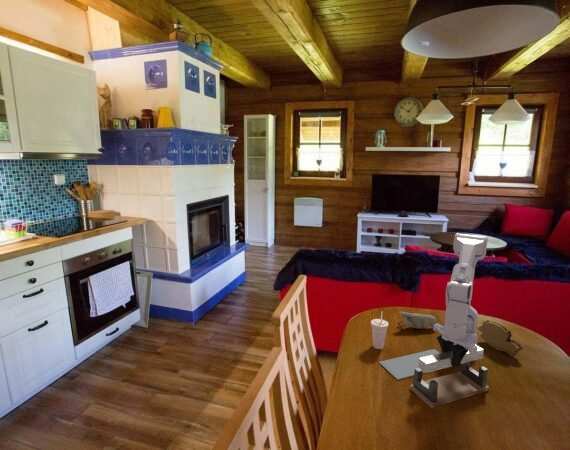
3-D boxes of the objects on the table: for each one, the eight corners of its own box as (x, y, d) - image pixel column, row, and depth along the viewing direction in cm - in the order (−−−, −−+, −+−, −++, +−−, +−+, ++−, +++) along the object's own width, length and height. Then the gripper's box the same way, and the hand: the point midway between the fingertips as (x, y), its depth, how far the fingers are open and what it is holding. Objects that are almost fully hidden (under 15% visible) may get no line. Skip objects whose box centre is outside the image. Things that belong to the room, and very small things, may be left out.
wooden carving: (523, 358, 122) (527, 332, 120) (515, 361, 120) (519, 335, 118) (480, 336, 137) (483, 313, 135) (472, 339, 135) (475, 315, 133)
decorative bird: (439, 332, 141) (440, 314, 139) (399, 331, 141) (400, 314, 139) (433, 325, 146) (435, 309, 145) (395, 325, 146) (396, 309, 144)
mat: (434, 350, 127) (434, 349, 127) (455, 365, 118) (455, 364, 118) (378, 362, 119) (378, 361, 119) (397, 380, 110) (397, 379, 110)
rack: (464, 373, 114) (466, 354, 112) (488, 390, 105) (491, 370, 104) (409, 388, 106) (411, 367, 105) (431, 408, 98) (433, 386, 97)
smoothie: (387, 352, 126) (390, 316, 123) (369, 350, 127) (371, 314, 124) (386, 342, 132) (388, 308, 129) (369, 341, 133) (371, 307, 130)
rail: (474, 353, 109) (475, 344, 109) (482, 358, 107) (483, 349, 106) (418, 367, 102) (419, 358, 101) (425, 373, 99) (426, 363, 99)
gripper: (427, 312, 107) (423, 352, 110) (465, 335, 94) (460, 380, 96) (444, 309, 109) (440, 348, 112) (485, 330, 96) (479, 374, 99)
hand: (451, 362), depth 104 cm, fingers closed on rail, 3 cm apart
